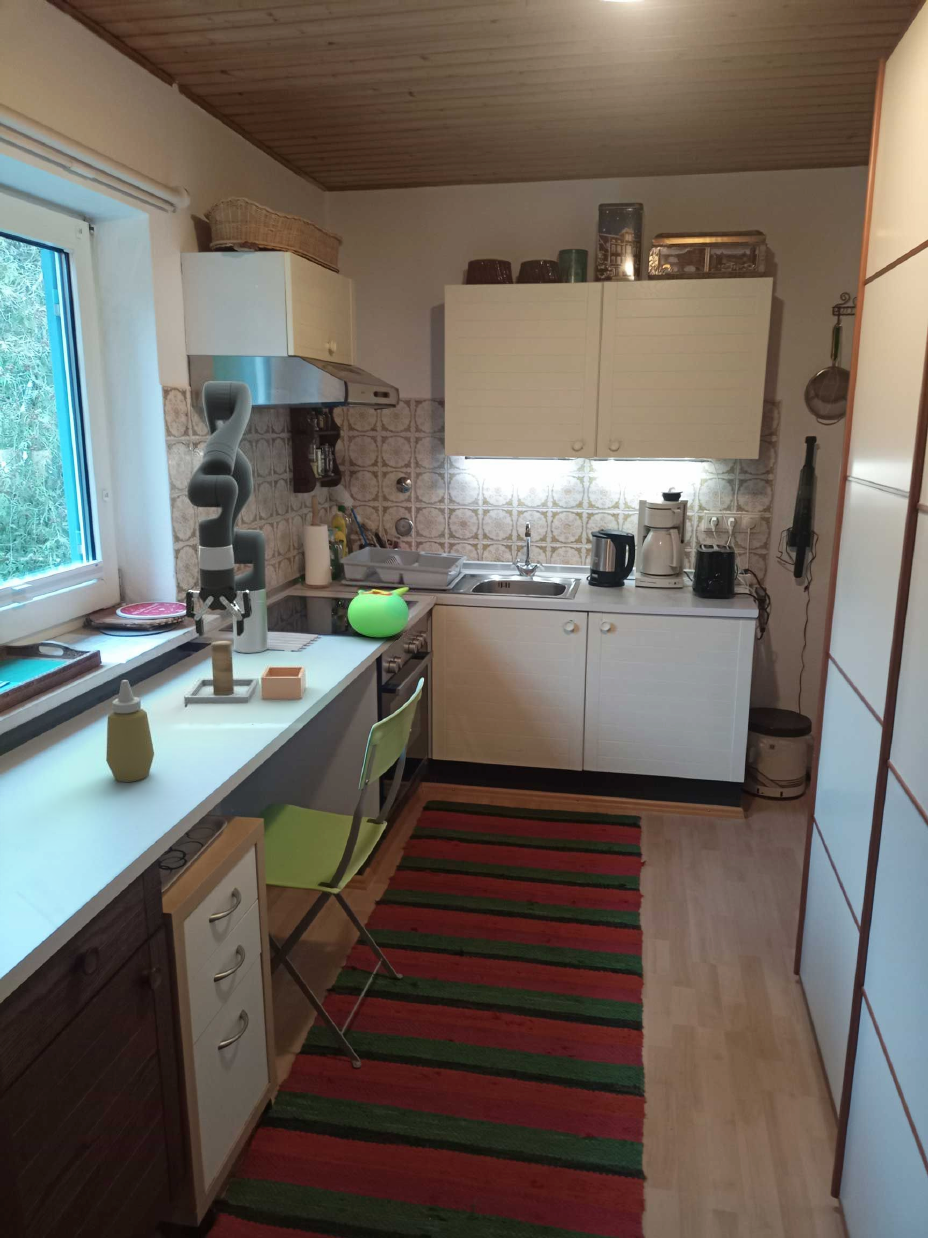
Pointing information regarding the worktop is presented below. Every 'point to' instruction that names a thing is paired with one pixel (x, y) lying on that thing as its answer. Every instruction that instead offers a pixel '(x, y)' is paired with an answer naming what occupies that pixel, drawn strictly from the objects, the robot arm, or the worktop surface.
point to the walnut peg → (222, 668)
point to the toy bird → (378, 612)
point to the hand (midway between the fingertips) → (220, 635)
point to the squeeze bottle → (128, 738)
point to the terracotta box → (283, 683)
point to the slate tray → (246, 698)
